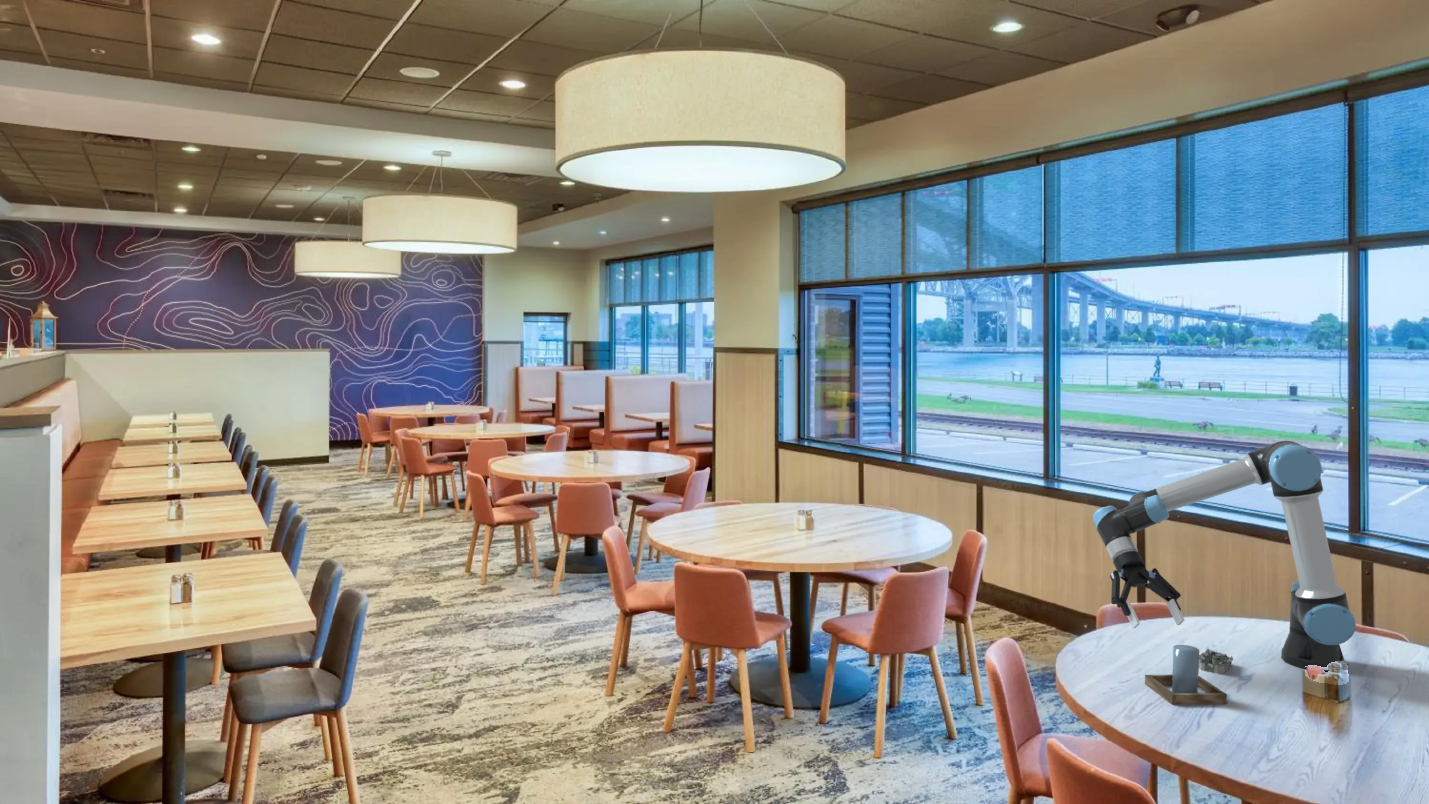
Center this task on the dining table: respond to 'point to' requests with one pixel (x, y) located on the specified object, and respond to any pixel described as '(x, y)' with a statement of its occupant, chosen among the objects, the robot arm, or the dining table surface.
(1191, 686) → the slate jar
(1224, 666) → the egg carton
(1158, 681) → the wooden square frame
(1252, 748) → the dining table surface
